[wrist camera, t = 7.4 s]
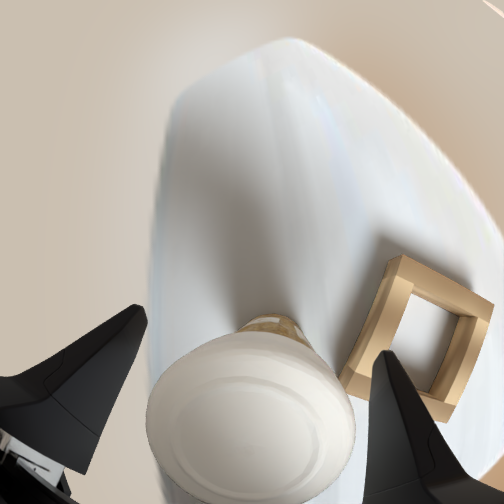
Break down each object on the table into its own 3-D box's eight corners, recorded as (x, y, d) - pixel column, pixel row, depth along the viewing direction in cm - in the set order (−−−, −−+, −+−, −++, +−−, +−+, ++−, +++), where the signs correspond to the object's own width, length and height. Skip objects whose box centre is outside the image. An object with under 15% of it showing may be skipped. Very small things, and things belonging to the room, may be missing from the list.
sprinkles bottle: (246, 306, 18) (159, 310, 5) (314, 322, 18) (392, 367, 4) (230, 370, 17) (130, 481, 4) (296, 387, 17) (315, 530, 4)
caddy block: (431, 413, 15) (446, 423, 13) (336, 381, 17) (343, 392, 14) (475, 305, 16) (494, 304, 14) (388, 260, 18) (402, 253, 15)
